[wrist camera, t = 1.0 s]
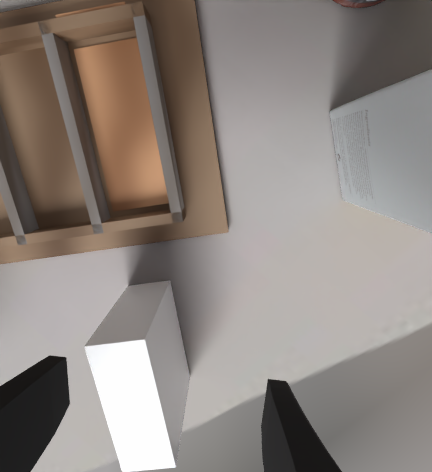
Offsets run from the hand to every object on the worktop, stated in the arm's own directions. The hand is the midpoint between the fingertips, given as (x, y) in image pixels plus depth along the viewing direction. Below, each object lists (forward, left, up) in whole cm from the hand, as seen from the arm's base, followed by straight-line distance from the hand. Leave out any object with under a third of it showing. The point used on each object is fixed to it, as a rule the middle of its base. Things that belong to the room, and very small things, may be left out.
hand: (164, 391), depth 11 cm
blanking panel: (-3, -4, -11) cm, 12 cm away
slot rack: (-7, +10, -11) cm, 16 cm away
